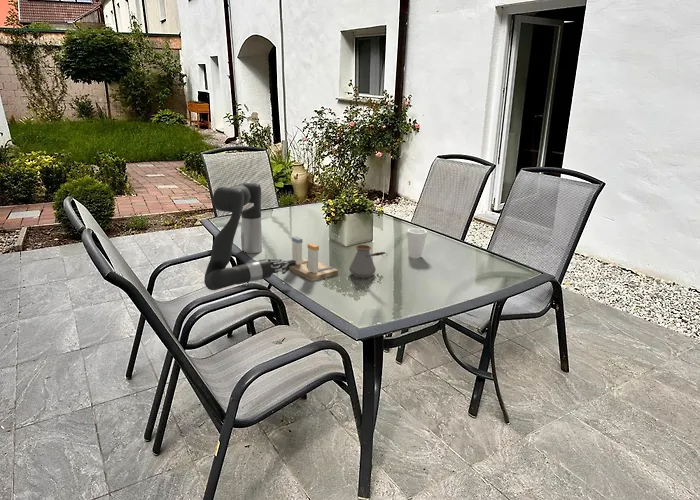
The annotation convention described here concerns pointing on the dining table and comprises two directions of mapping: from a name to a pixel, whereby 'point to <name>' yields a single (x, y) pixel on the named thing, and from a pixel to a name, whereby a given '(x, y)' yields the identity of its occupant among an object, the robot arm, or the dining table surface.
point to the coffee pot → (363, 262)
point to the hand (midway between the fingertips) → (294, 262)
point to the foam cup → (416, 242)
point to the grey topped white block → (297, 249)
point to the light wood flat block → (322, 273)
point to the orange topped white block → (313, 258)
